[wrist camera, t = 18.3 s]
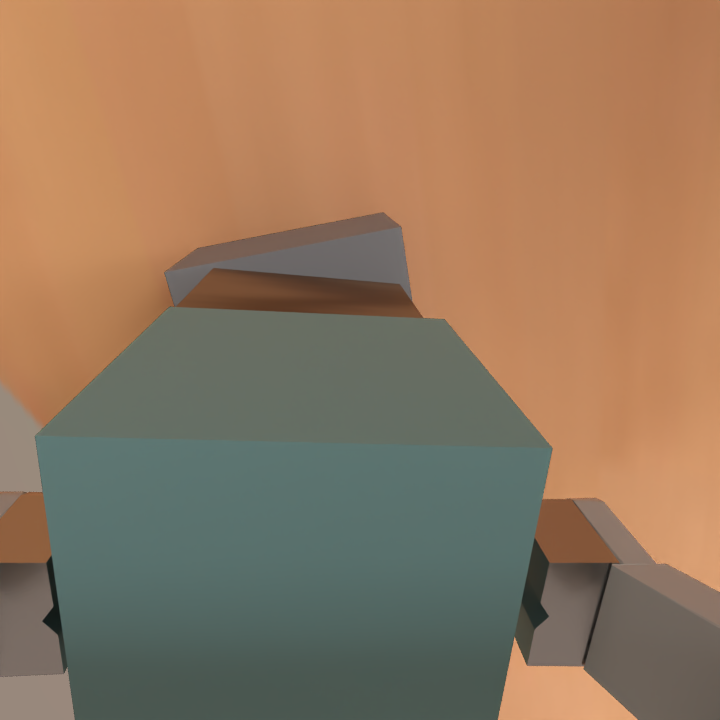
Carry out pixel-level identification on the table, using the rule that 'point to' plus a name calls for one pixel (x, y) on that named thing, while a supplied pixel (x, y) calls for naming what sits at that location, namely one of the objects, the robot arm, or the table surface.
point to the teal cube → (291, 522)
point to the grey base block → (305, 254)
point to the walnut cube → (298, 294)
